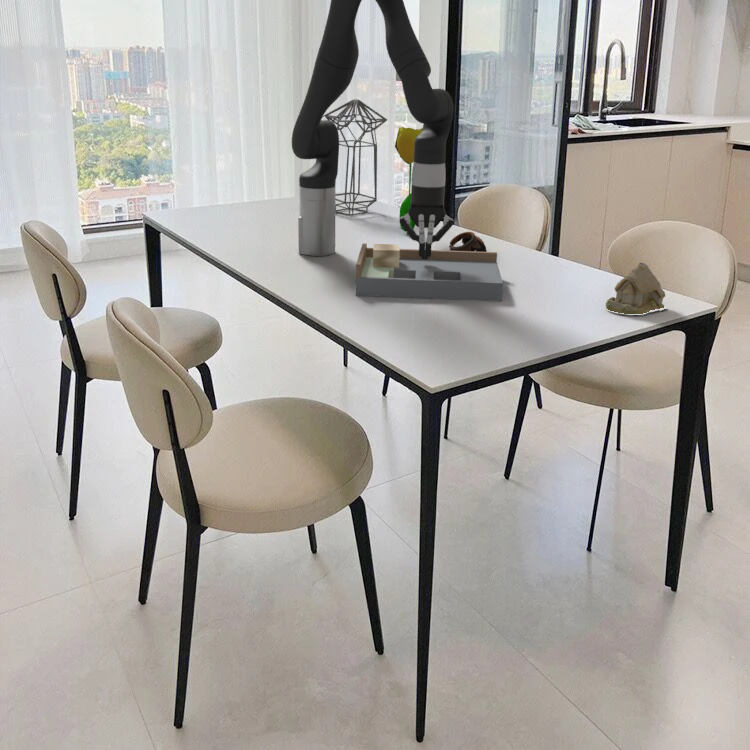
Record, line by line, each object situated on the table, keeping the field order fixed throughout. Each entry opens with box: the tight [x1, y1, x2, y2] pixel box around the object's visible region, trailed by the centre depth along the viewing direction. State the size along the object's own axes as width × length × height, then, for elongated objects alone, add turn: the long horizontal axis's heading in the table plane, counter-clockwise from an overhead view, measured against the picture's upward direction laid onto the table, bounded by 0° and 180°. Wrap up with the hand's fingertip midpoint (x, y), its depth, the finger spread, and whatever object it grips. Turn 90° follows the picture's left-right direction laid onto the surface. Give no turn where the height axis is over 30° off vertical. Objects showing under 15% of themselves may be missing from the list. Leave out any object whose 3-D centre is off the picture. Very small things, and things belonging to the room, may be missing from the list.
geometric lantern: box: [322, 98, 388, 216], centre depth 265 cm, size 16×16×35 cm
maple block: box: [372, 243, 401, 268], centre depth 194 cm, size 6×6×4 cm
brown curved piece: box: [448, 231, 488, 252], centre depth 217 cm, size 12×10×8 cm
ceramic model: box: [605, 262, 666, 314], centre depth 179 cm, size 14×11×10 cm
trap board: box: [355, 243, 504, 302], centre depth 192 cm, size 32×20×7 cm, turn 87°
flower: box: [394, 126, 423, 235], centre depth 238 cm, size 9×8×30 cm
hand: (424, 258), depth 195 cm, fingers closed
